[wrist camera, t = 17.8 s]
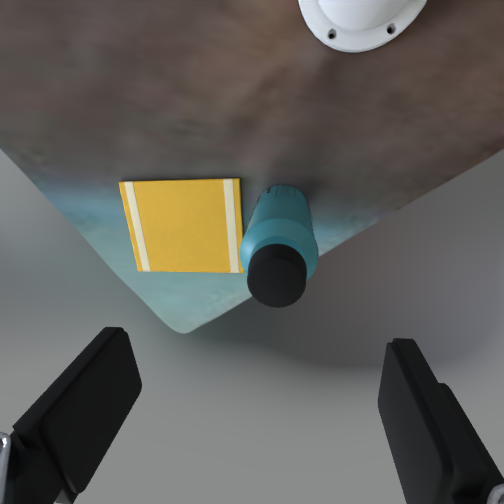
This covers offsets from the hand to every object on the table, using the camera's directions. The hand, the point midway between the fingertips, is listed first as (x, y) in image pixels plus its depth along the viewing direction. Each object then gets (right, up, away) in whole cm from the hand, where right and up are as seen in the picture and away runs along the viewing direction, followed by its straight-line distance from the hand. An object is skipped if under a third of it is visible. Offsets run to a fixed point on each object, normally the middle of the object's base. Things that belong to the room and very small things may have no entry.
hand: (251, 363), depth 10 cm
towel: (-9, +7, +29) cm, 31 cm away
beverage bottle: (+4, +10, +26) cm, 29 cm away
